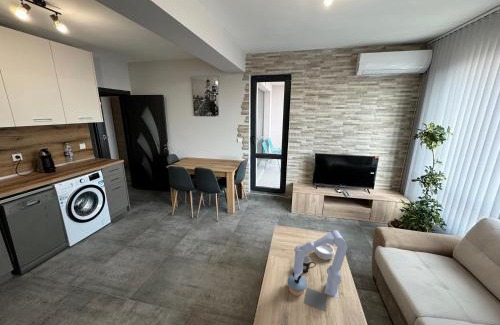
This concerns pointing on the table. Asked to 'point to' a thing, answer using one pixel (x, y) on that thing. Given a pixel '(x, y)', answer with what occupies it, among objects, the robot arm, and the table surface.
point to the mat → (316, 299)
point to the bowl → (296, 291)
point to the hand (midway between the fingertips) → (297, 281)
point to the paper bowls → (325, 252)
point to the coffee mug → (307, 264)
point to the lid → (297, 286)
